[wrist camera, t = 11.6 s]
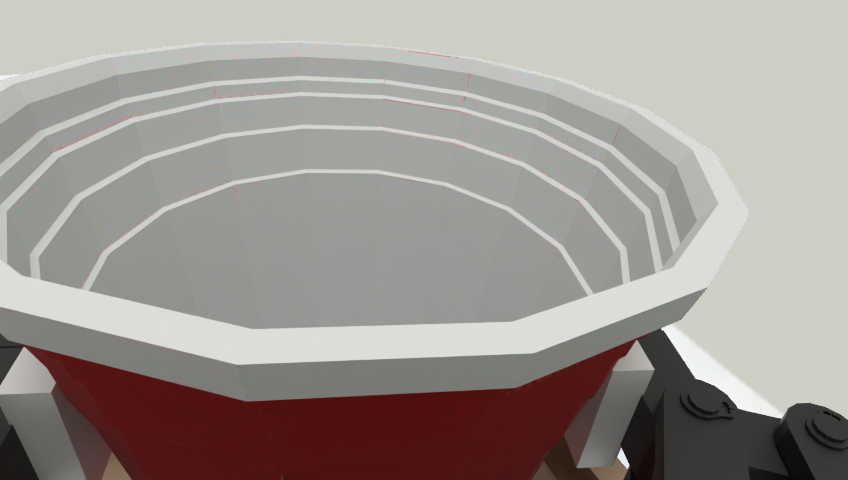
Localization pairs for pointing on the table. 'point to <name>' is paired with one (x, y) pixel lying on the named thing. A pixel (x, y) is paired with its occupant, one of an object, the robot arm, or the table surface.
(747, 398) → the table surface
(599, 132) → the plastic cup
